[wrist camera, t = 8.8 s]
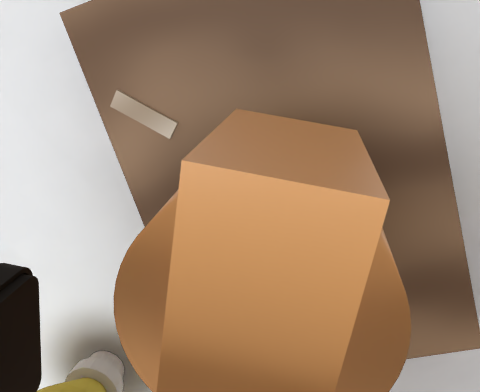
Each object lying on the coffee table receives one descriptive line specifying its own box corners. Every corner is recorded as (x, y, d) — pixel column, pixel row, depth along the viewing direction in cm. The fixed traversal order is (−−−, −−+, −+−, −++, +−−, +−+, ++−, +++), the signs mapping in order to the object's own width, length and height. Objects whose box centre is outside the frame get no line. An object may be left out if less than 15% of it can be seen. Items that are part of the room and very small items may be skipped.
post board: (469, 322, 23) (543, 458, 16) (216, 363, 26) (178, 491, 19) (388, -104, 18) (444, -206, 10) (81, 15, 21) (-46, 3, 14)
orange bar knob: (179, 73, 13) (-4, 125, 5) (428, 117, 12) (607, 241, 5) (150, 366, 17) (18, 634, 9) (339, 411, 16) (363, 738, 9)
